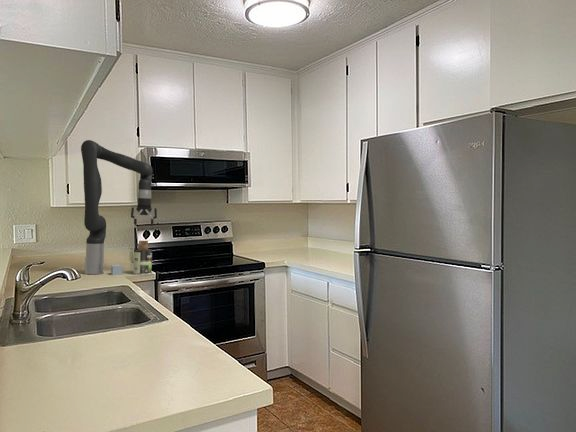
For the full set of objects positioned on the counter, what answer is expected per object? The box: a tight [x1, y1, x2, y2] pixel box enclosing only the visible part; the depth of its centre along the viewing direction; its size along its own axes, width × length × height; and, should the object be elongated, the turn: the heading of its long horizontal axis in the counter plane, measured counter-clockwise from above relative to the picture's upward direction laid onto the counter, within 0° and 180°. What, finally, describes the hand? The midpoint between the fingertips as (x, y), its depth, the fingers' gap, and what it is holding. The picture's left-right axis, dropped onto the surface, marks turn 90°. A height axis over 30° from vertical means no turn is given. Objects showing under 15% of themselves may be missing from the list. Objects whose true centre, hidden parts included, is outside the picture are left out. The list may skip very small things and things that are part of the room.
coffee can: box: [132, 248, 153, 276], centre depth 249 cm, size 10×10×14 cm
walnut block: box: [138, 240, 149, 250], centre depth 249 cm, size 5×5×5 cm
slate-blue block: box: [110, 264, 123, 276], centre depth 245 cm, size 5×5×5 cm
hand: (143, 225), depth 249 cm, fingers open, 8 cm apart
